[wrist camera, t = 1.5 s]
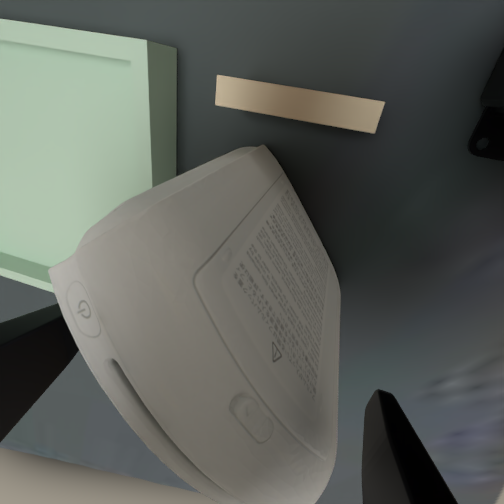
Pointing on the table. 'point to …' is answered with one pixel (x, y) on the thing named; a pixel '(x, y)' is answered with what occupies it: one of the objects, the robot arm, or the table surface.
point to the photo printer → (215, 328)
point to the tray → (76, 137)
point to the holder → (299, 103)
